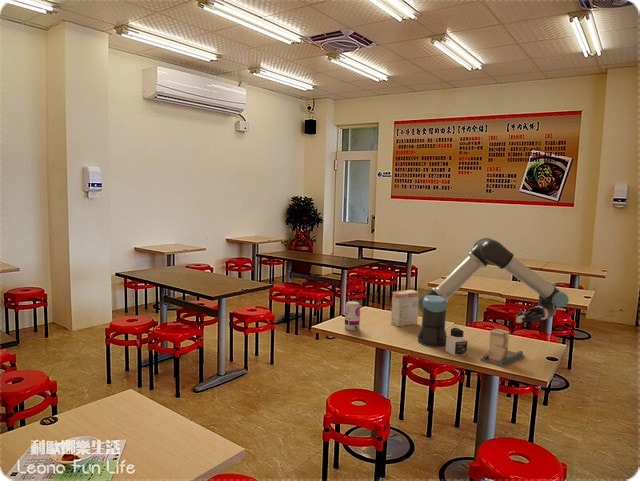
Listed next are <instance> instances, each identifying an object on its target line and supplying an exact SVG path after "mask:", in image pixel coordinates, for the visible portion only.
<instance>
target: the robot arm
mask: <svg viewBox="0 0 640 481" xmlns="http://www.w3.org/2000/svg"><path fill="white" fill-rule="evenodd" d="M489 264H492V265H494V266H496V267H498V268H499V269H500V270H505V271H506V272H508V273H509V274H511V275H512V276H513V277H515V278H516V279H518V280H519V281H520V282H522V283H523V284H524V285H526V286H527V287H528V288H530V289H531V290H533V291H534V292H535V293H537V294H538V303H537V306H534V307H531V308H529V309H528V311H523V310H519V312H518V313H517V314H516V315H517V316H516V319H515V323H518V324H521V323H523V322H529V323H538V322H545V320H546V319H547V320H548V319H550V318H553V317H554V316H555V315H556V311H557V309H556V307H558V308H564V307H566V306H567V305H568V303H569V297H568V295H567V294H566V293H565V292H563V291H561V290H559V289H558V287H557V285H556V283H554V282H549V281H547V280H546V279H544V278H543V276H540V275H539V274H537V273H536V272H535V271H534V270H532V269H531V268H530V267H528V266H527V265H525V264H524V263H522V261H520V260H518V259H517V258H516V257H515V254H514V253H512V252H511V251H510V250H508V249H507V248H506V247H505V246H504V245H503V244H502V243H501V242H499V241H498V240H495V239H492V238H489V237H483V238H479V239H477V241H476V242H475V243H474V244H473V247H472V248H471V249H470V250H469V251H468V256H466V258H465V259H464V260H463V261H462V262H461V263H460V264H458V266H457V267H455V268H454V270H453V271H452V272H451V273H450V274H449V275H447V277H445V279H443V281H442V282H441V283H439V284H438V286H436V287H432V288H430V290H428V291H426V292H423V293H422V294H421V296H419V299H418V310H420V312H421V313H422V315H421V316H422V317H421V318H422V320H421V328H420V330H419V333H418V335H417V342H418V343H419V342H420V344H421V343H422V345H424V344H425V345H424V346H428V345H429V347H444V346H445V347H446V338H447V337H448V335H447V332H446V318H447V317H446V316H447V306H448V304H449V299H450V298H451V297H452V296H453V295H454V294H455V293H456V292H457V291H459V289H460V288H461V287H462V286H463V285H464V284H465V283H466V282H468V280H469V279H470V278H471V277H472V276H474V275H475V273H476V272H477V271H478V270H480V269H481V268H486V267H487V266H488V265H489Z"/></svg>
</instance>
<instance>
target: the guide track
mask: <svg viewBox="0 0 640 481" xmlns="http://www.w3.org/2000/svg"><path fill="white" fill-rule="evenodd" d="M523 353H524V351H522V350H518V351H517V352H516V351H515V352H514V351H511V350H508V353H507V357H506V358H503V359H501V360H499V361H497V360H493V359H490V358H489V352H488V353H487V354H484V355H482V357H480V361H481V362H485V363H488V364H492V365H493V366H494V365H495V366H499V367H502V368H505V367H506V366H509V365H511V364H513V363H515V362H517V361H519V360H521V359H523V358H525V357H526V355H525V354H523Z"/></svg>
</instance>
